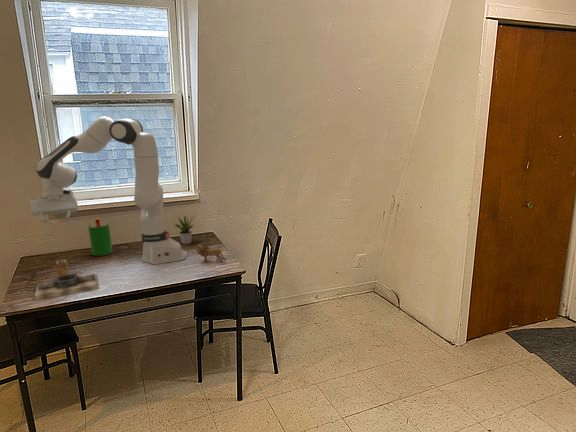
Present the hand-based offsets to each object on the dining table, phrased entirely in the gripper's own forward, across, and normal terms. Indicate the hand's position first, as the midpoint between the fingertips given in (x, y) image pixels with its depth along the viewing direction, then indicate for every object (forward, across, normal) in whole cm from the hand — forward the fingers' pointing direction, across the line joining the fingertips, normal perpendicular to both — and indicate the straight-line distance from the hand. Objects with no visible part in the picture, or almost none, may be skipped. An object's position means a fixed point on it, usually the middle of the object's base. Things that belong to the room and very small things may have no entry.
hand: (56, 220), depth 203 cm
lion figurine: (+36, +66, -2) cm, 75 cm away
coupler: (+26, 0, +9) cm, 28 cm away
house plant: (+8, +64, +26) cm, 70 cm away
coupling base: (+37, +2, -2) cm, 37 cm away
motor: (+6, +19, +30) cm, 35 cm away
